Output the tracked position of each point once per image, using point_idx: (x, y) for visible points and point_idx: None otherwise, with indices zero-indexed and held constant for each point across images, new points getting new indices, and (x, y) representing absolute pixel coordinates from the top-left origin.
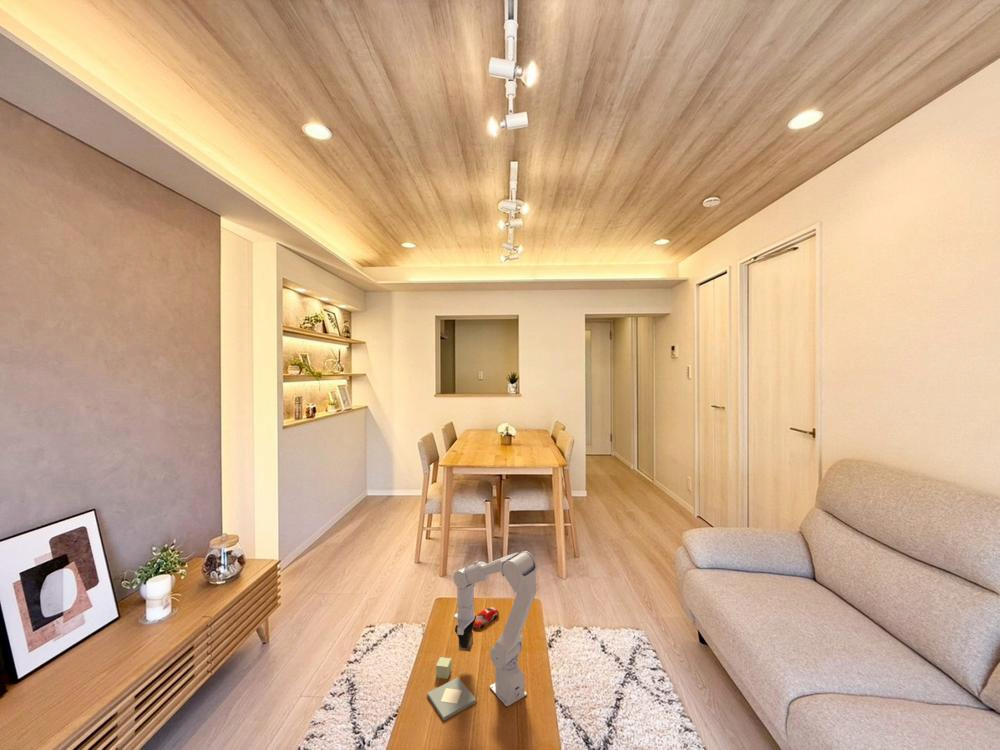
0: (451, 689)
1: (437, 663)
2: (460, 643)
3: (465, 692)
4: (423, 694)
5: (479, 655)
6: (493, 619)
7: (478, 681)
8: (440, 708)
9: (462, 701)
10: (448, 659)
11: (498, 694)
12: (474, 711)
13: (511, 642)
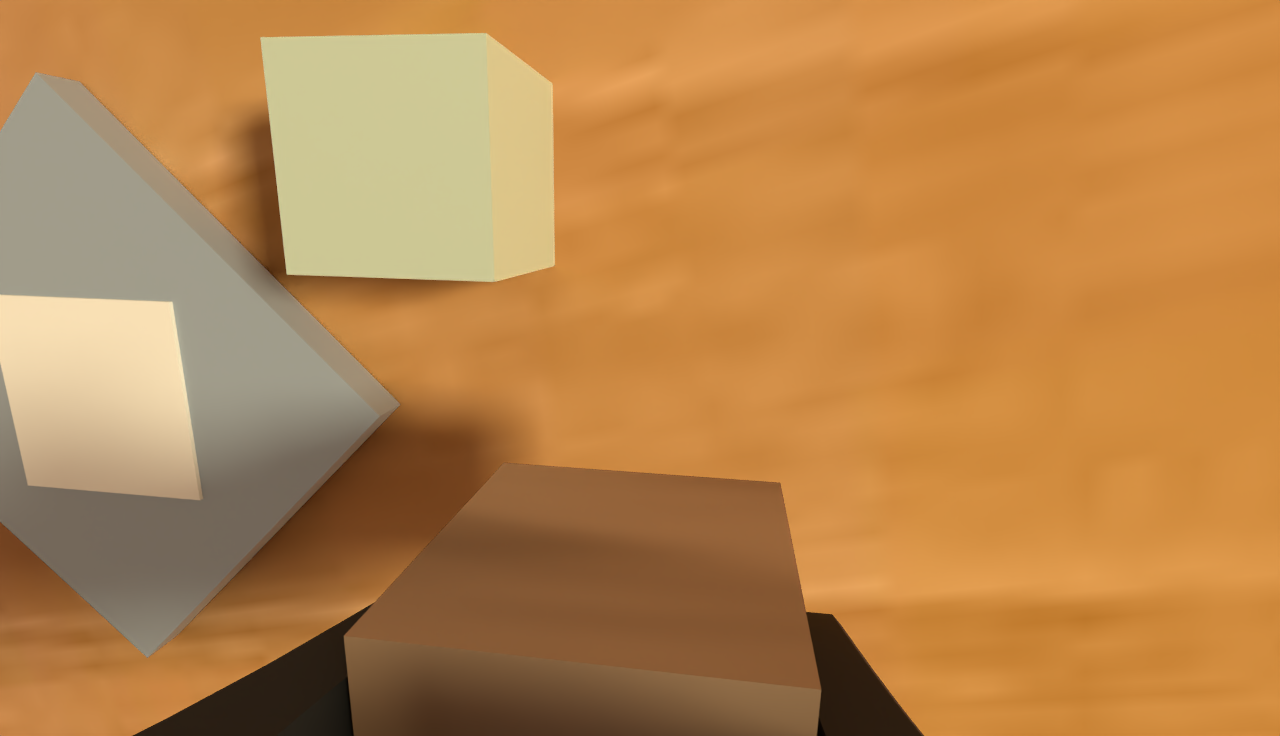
0: (169, 378)
1: (310, 46)
2: (335, 636)
3: (189, 543)
4: (85, 16)
5: (890, 596)
6: None
7: None
8: None
9: (78, 531)
10: (459, 235)
11: None
12: (89, 631)
13: None
